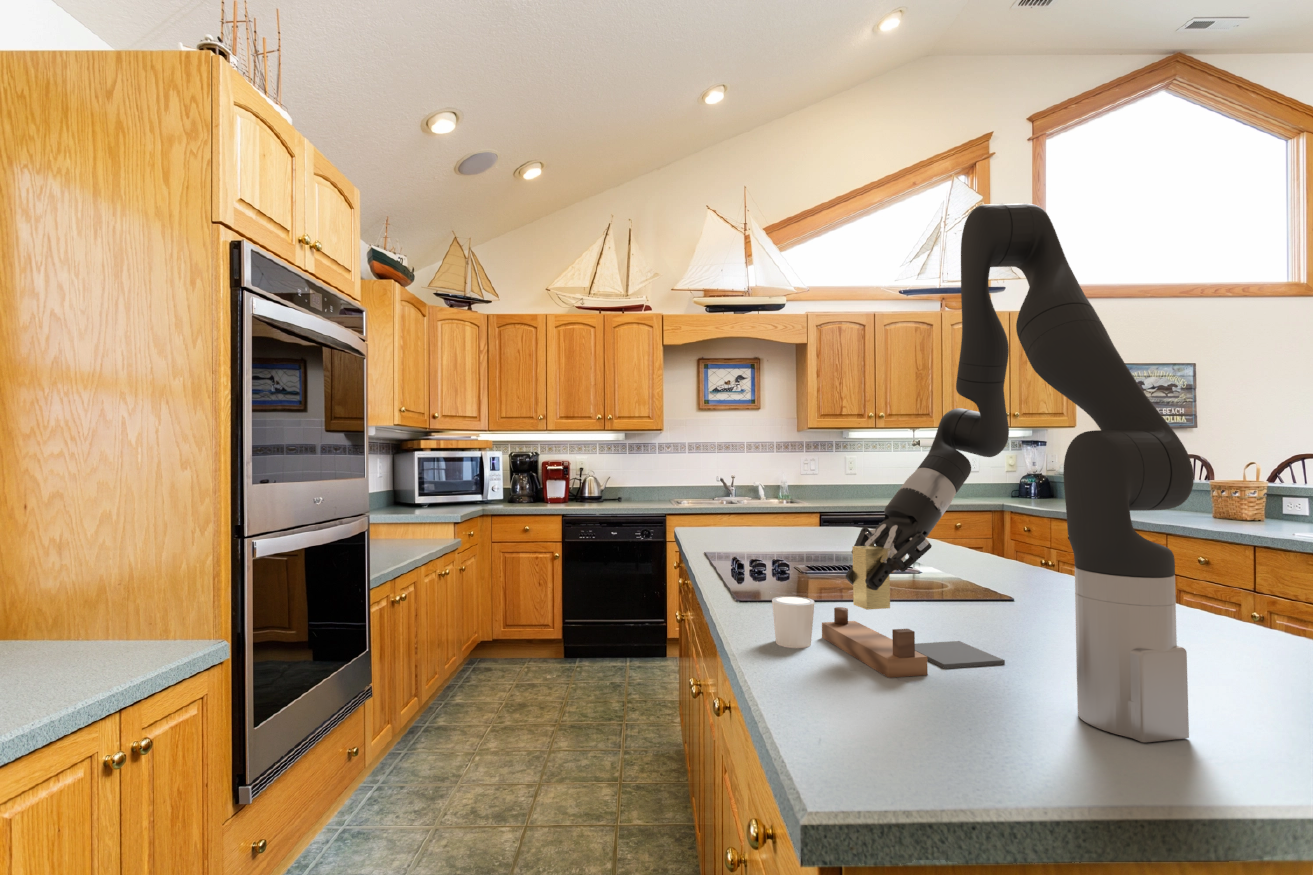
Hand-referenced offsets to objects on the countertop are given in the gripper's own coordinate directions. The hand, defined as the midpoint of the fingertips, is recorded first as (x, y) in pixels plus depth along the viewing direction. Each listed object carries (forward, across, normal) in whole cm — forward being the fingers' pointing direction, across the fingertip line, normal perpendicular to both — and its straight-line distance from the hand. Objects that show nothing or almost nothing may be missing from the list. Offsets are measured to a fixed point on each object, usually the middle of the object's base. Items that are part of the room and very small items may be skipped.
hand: (860, 583), depth 96 cm
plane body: (+6, 0, +9) cm, 11 cm away
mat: (-2, +4, +17) cm, 18 cm away
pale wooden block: (+1, 0, +4) cm, 4 cm away
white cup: (+12, -10, +4) cm, 16 cm away
